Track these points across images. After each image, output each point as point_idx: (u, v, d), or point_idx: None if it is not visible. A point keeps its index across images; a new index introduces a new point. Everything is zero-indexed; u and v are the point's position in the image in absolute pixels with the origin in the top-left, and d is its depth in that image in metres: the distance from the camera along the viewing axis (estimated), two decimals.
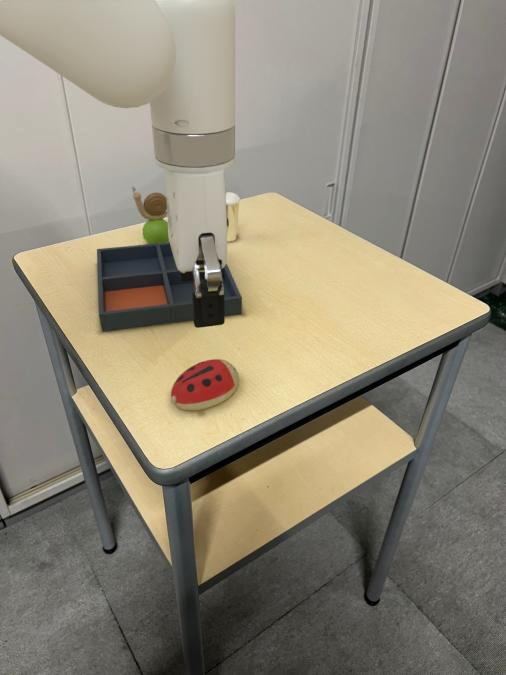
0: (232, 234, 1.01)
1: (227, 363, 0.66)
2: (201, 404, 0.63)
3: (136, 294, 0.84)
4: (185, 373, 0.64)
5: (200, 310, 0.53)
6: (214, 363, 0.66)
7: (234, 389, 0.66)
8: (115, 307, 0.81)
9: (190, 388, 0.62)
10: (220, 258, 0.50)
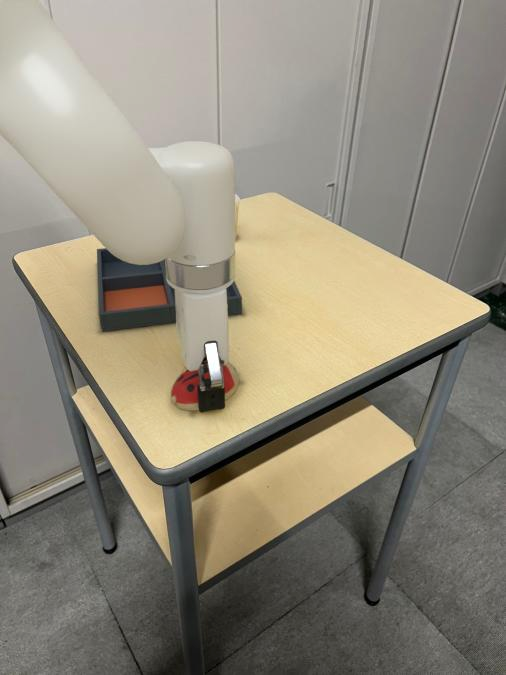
0: None
1: (227, 363, 0.66)
2: None
3: (136, 294, 0.84)
4: (185, 373, 0.64)
5: (204, 399, 0.61)
6: None
7: (234, 389, 0.66)
8: (115, 307, 0.81)
9: (190, 388, 0.62)
10: (222, 359, 0.58)
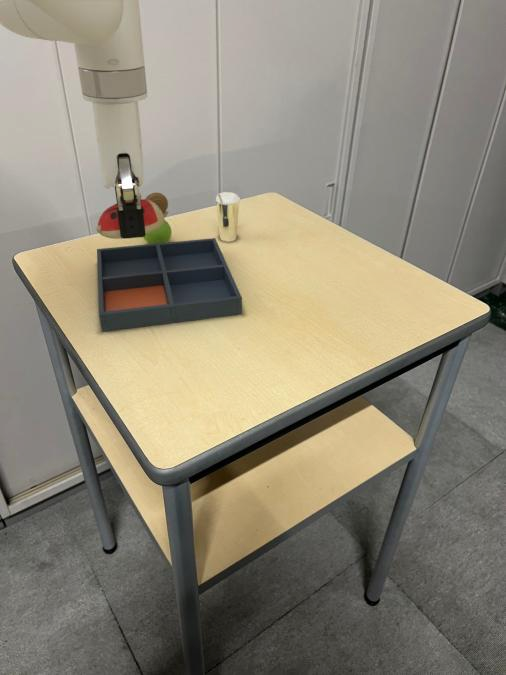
0: (232, 234, 1.01)
1: (152, 202, 0.71)
2: None
3: (136, 294, 0.84)
4: None
5: (124, 223, 0.66)
6: None
7: (157, 224, 0.70)
8: (115, 307, 0.81)
9: (113, 216, 0.67)
10: (136, 176, 0.63)
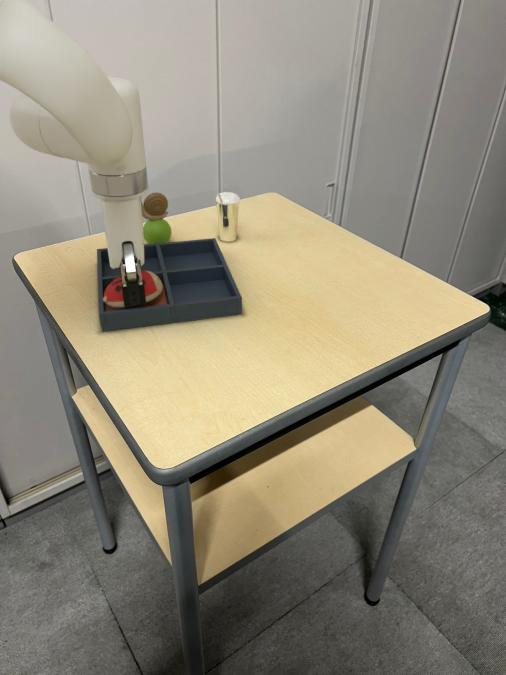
0: (232, 234, 1.01)
1: (152, 273, 0.80)
2: None
3: None
4: (115, 279, 0.78)
5: (127, 296, 0.75)
6: None
7: (157, 294, 0.80)
8: None
9: (118, 288, 0.76)
10: (139, 258, 0.72)
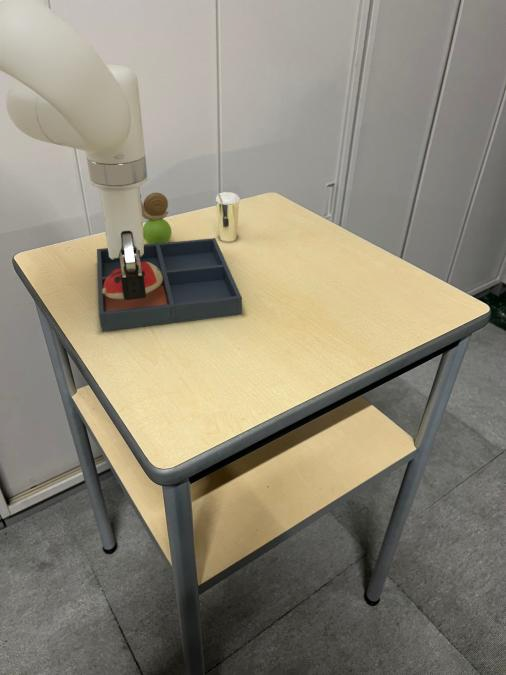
0: (232, 234, 1.01)
1: (151, 264, 0.79)
2: None
3: None
4: (114, 270, 0.77)
5: (127, 287, 0.75)
6: (140, 263, 0.79)
7: (156, 285, 0.79)
8: (115, 307, 0.81)
9: (117, 280, 0.76)
10: (138, 249, 0.71)
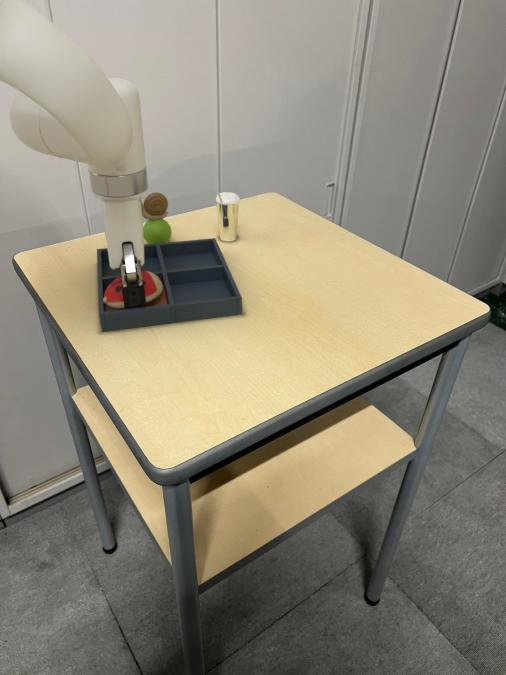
0: (232, 234, 1.01)
1: (151, 273, 0.80)
2: None
3: None
4: (115, 279, 0.78)
5: (127, 296, 0.75)
6: None
7: (157, 294, 0.80)
8: None
9: (118, 289, 0.76)
10: (139, 259, 0.72)
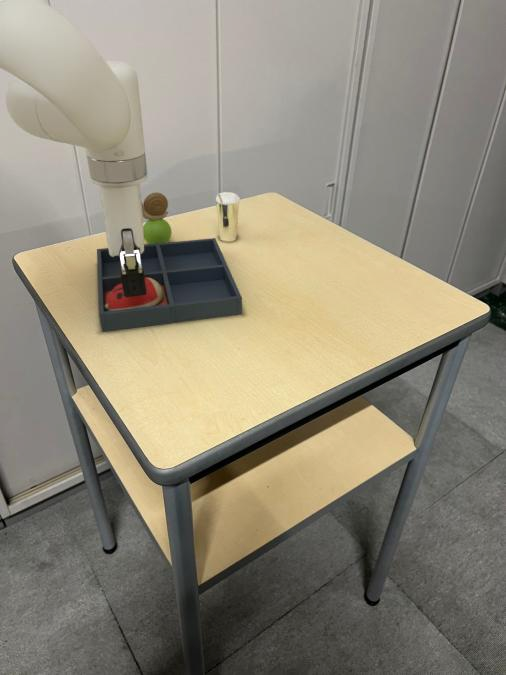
0: (232, 234, 1.01)
1: (152, 280, 0.81)
2: None
3: None
4: (116, 286, 0.79)
5: (127, 284, 0.73)
6: None
7: (157, 300, 0.80)
8: None
9: (119, 296, 0.77)
10: (138, 246, 0.71)
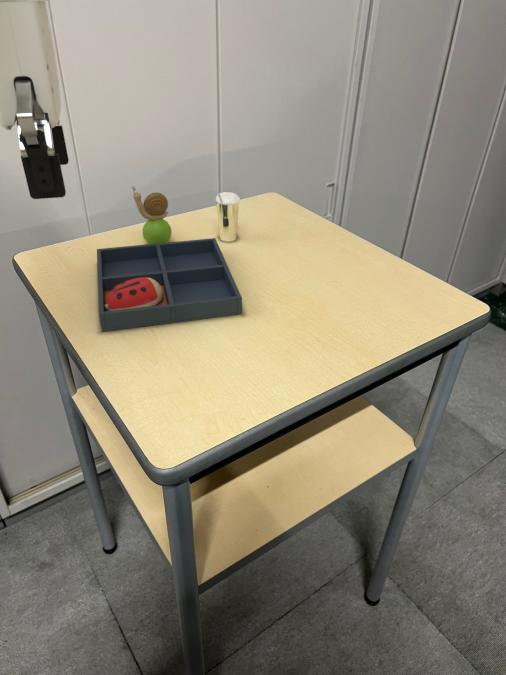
0: (232, 234, 1.01)
1: (152, 280, 0.81)
2: None
3: None
4: (116, 286, 0.79)
5: (33, 176, 0.48)
6: (141, 279, 0.81)
7: (157, 300, 0.80)
8: None
9: (119, 296, 0.77)
10: (45, 111, 0.45)
